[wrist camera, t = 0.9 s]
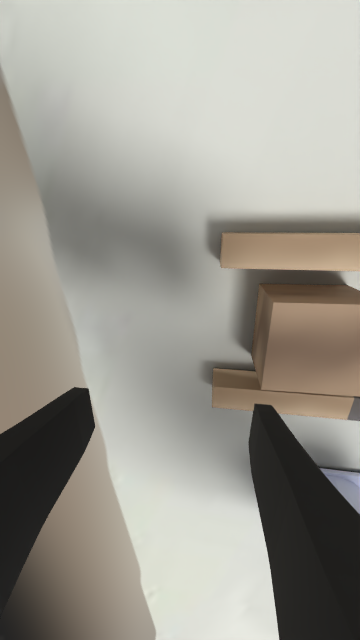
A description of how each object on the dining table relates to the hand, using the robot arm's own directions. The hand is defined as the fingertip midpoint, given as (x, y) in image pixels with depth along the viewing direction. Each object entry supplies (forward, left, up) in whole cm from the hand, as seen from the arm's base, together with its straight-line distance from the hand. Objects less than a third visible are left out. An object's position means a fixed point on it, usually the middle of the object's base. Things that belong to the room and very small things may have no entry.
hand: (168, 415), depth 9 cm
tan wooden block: (0, -8, -11) cm, 13 cm away
